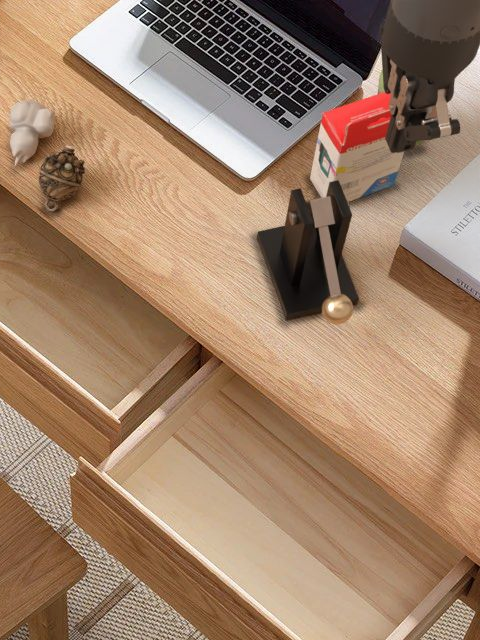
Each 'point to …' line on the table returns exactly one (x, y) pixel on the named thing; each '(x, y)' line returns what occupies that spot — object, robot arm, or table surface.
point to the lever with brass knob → (329, 263)
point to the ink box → (356, 149)
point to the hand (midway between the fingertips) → (398, 144)
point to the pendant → (60, 176)
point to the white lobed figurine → (29, 127)
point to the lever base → (306, 255)
